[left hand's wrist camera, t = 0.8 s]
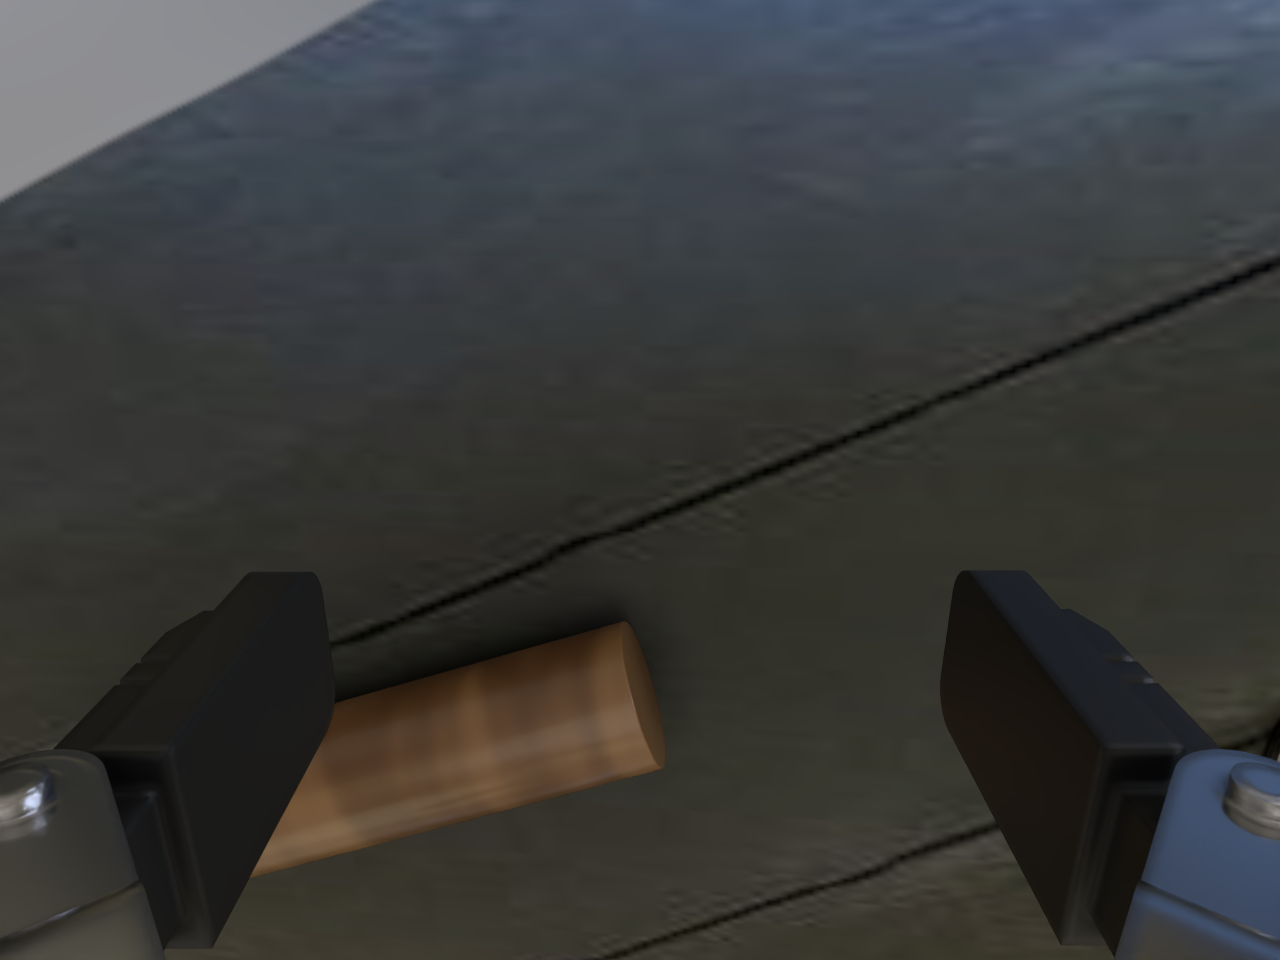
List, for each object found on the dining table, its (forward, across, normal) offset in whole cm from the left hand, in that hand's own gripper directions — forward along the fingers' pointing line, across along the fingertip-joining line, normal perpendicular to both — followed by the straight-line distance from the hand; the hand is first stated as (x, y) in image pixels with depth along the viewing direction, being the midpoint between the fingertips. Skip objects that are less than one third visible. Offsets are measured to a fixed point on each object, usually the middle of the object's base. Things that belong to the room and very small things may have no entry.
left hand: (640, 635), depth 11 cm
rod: (+24, -12, -19) cm, 33 cm away
